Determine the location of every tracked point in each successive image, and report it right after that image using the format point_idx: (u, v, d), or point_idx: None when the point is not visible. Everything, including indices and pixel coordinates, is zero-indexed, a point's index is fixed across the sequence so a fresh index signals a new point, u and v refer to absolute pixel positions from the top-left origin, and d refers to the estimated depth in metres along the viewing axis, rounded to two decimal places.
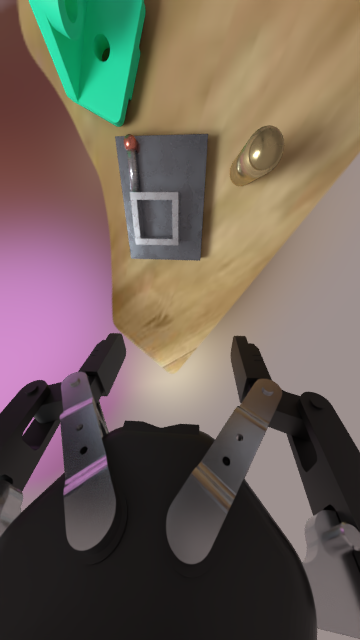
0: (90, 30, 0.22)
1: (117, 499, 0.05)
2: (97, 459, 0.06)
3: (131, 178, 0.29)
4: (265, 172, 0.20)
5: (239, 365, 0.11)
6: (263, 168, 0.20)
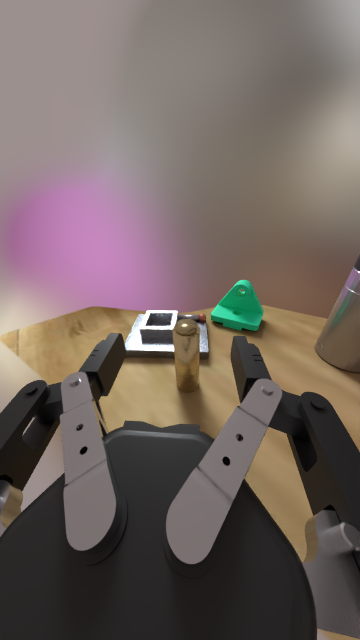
0: (241, 310, 0.48)
1: (117, 499, 0.05)
2: (97, 459, 0.06)
3: (185, 315, 0.46)
4: (173, 331, 0.26)
5: (239, 365, 0.11)
6: (175, 325, 0.26)
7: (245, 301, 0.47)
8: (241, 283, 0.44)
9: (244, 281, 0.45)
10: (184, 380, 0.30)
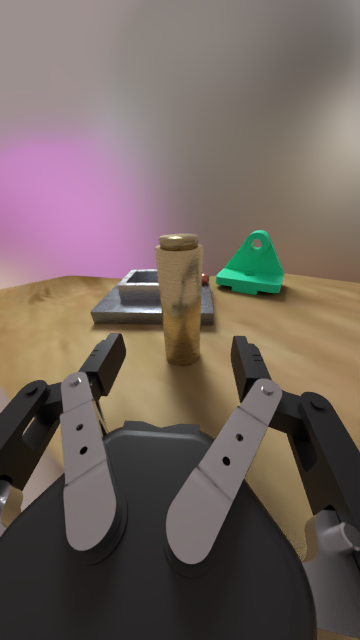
0: (255, 272, 0.38)
1: (117, 499, 0.05)
2: (97, 459, 0.06)
3: None
4: (156, 248, 0.15)
5: (239, 365, 0.11)
6: (160, 238, 0.15)
7: (260, 259, 0.36)
8: (256, 232, 0.33)
9: (260, 230, 0.35)
10: (176, 344, 0.18)
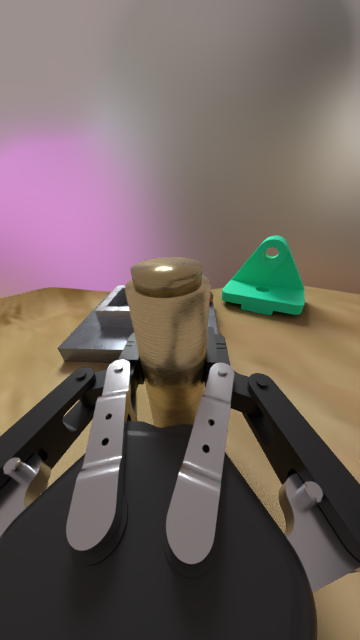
0: (268, 286, 0.31)
1: (117, 499, 0.05)
2: (97, 459, 0.06)
3: None
4: (127, 288, 0.08)
5: None
6: None
7: (276, 271, 0.30)
8: (272, 238, 0.27)
9: (276, 236, 0.28)
10: (167, 423, 0.12)
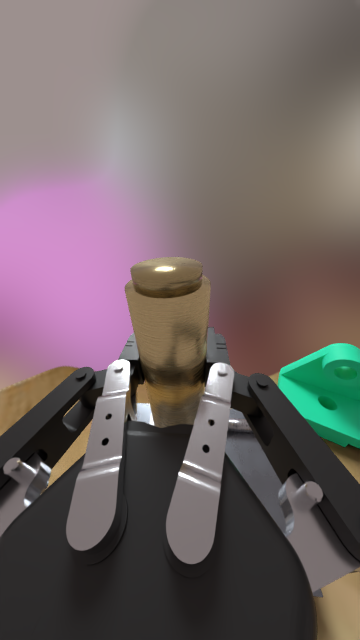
0: (332, 395, 0.26)
1: (117, 499, 0.05)
2: (97, 459, 0.06)
3: (229, 419, 0.23)
4: (127, 288, 0.08)
5: None
6: None
7: None
8: (350, 357, 0.22)
9: (351, 349, 0.23)
10: (167, 423, 0.12)
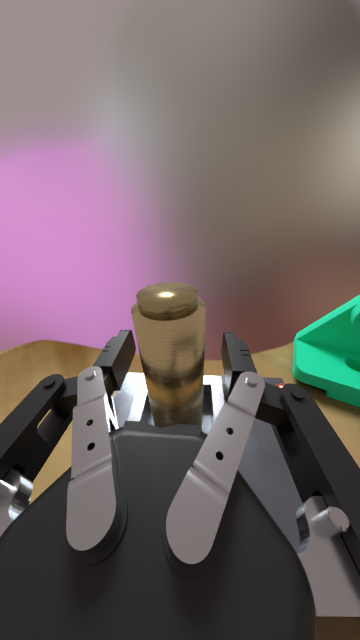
0: None
1: (117, 499, 0.05)
2: (97, 459, 0.06)
3: None
4: (133, 311, 0.10)
5: (227, 360, 0.11)
6: (138, 294, 0.10)
7: None
8: None
9: None
10: None
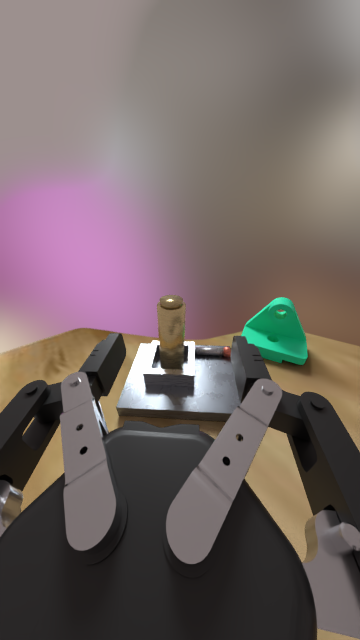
0: (277, 335, 0.38)
1: (117, 499, 0.05)
2: (97, 459, 0.06)
3: (204, 347, 0.34)
4: (158, 306, 0.25)
5: (239, 365, 0.11)
6: (160, 300, 0.25)
7: (283, 324, 0.37)
8: (282, 303, 0.34)
9: (284, 299, 0.35)
10: (168, 361, 0.28)
